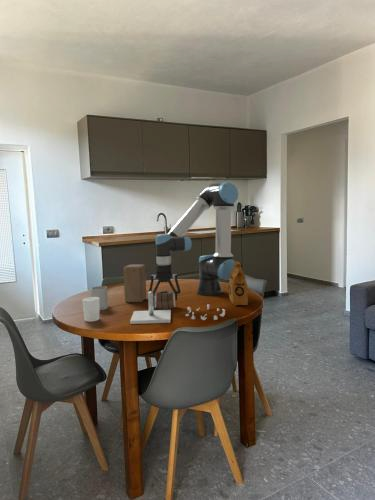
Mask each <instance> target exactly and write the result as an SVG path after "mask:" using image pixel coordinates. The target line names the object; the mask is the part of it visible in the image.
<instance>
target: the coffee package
mask: <svg viewBox="0 0 375 500" xmlns="http://www.w3.org/2000/svg"><path fill="white" fill-rule="evenodd" d="M234 261H235V262H234V264H235V267H234V268H233V270H232V271H231V273H230V278H229V280H228V296H229V297H228V298H229V301H230V303H232V305H233V306H234V307H236V306H237V305H243V306H242V307H244V305H247V306H248V304H249V303H248V302H249V288H248V283H247V280H246V276H245V273H244V271H243V268H242V266H241V262H240V261H237V260H234Z"/></svg>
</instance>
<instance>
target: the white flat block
mask: <svg viewBox="0 0 375 500" xmlns="http://www.w3.org/2000/svg"><path fill="white" fill-rule="evenodd" d="M171 312H172V311H171V309H158V310H155V309H154V315H153V316H149V310H133V312H132V316H131V317H130V320H129V321H130V322H129V323H130V325H137V324H138V325H139V324H144V325H145V324H166V323H168V324H170V323H172V322H171V319H172V318H171V315H172V313H171Z"/></svg>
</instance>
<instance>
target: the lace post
mask: <svg viewBox="0 0 375 500" xmlns="http://www.w3.org/2000/svg"><path fill="white" fill-rule="evenodd" d="M147 299H148V301H147V302H148V303H147V305H148V311H149V316H153V315H154V310H155V301H153V291H151V292H149V291H148V292H147Z"/></svg>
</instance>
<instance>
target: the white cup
mask: <svg viewBox="0 0 375 500" xmlns="http://www.w3.org/2000/svg"><path fill="white" fill-rule="evenodd" d="M81 301H82V310H83V317H84V321H85V322H96V321H99V320H100V311H101V310H100V298H98V297H91V296H90V297H89V296H88V297H84V298H82V300H81Z"/></svg>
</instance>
